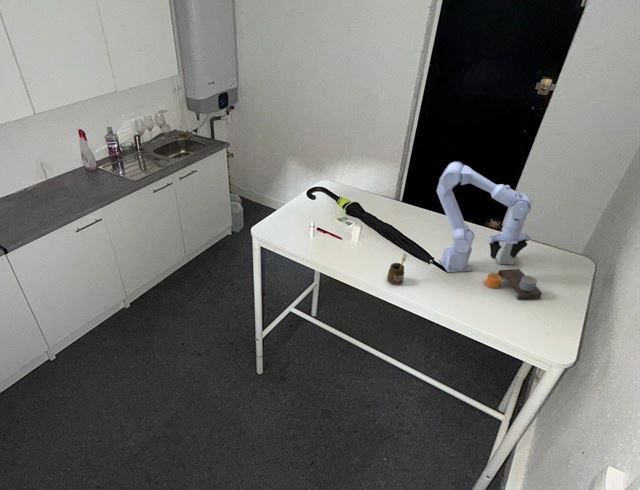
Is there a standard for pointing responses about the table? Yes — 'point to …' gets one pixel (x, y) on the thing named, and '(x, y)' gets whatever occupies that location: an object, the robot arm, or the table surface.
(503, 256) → the small box
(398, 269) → the utensil holder
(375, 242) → the table surface
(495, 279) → the orange tape
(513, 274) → the brown rectangular block
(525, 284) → the grey tape
